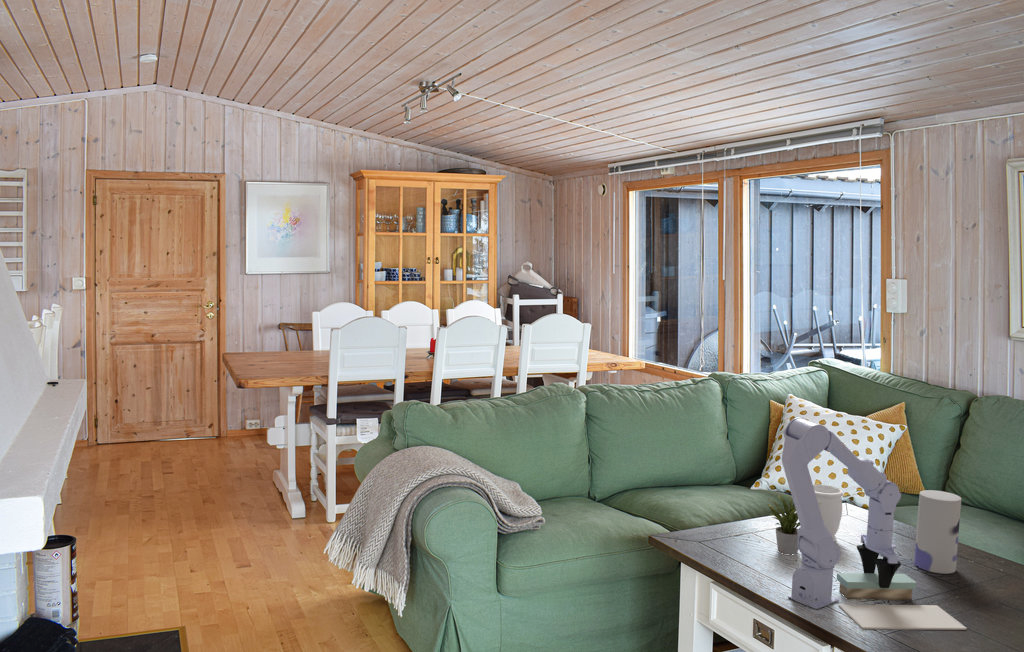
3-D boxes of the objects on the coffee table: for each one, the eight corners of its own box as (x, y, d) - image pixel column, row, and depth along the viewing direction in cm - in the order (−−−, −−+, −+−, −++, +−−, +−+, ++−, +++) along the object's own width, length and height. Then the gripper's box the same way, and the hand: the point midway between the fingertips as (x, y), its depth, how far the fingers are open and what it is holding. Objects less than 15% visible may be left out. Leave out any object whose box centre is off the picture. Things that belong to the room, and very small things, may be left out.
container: (960, 576, 218) (966, 501, 216) (920, 572, 219) (925, 498, 218) (948, 562, 227) (954, 491, 226) (909, 558, 229) (915, 488, 227)
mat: (862, 629, 184) (862, 627, 184) (838, 606, 196) (838, 604, 196) (966, 629, 186) (966, 628, 185) (936, 606, 197) (936, 605, 197)
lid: (846, 588, 199) (847, 582, 199) (836, 579, 205) (837, 573, 205) (916, 589, 200) (916, 582, 200) (904, 579, 206) (904, 573, 206)
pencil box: (847, 599, 200) (848, 583, 200) (839, 592, 205) (840, 576, 204) (911, 599, 201) (912, 584, 201) (902, 592, 205) (903, 576, 205)
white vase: (816, 546, 237) (819, 495, 236) (794, 534, 247) (797, 484, 246) (847, 543, 240) (851, 493, 239) (825, 531, 250) (828, 483, 248)
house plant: (811, 544, 238) (814, 489, 237) (824, 562, 224) (828, 503, 223) (760, 541, 239) (763, 486, 238) (770, 559, 226) (774, 500, 224)
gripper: (911, 537, 194) (907, 593, 195) (881, 517, 209) (877, 569, 210) (882, 537, 194) (878, 593, 195) (854, 517, 208) (850, 569, 209)
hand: (876, 581), depth 202 cm, fingers open, 7 cm apart
